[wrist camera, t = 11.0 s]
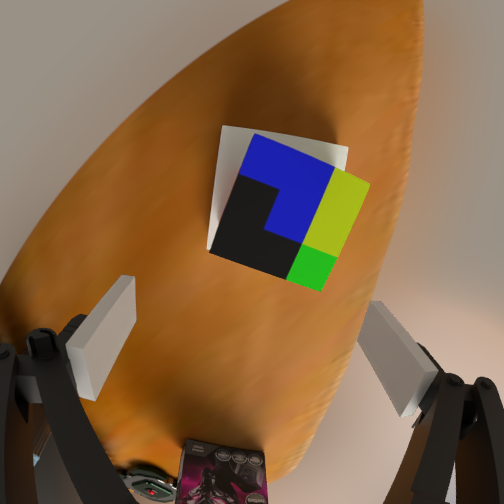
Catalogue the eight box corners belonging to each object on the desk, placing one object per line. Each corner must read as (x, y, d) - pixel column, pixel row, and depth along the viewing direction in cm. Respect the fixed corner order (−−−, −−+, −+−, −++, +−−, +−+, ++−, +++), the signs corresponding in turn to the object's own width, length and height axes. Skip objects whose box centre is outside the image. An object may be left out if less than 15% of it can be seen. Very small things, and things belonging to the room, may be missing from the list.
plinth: (210, 239, 38) (206, 249, 35) (224, 128, 34) (222, 125, 30) (317, 253, 39) (325, 264, 36) (338, 147, 35) (348, 147, 31)
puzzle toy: (251, 138, 31) (254, 132, 21) (335, 173, 32) (370, 184, 23) (218, 223, 34) (209, 252, 24) (300, 253, 35) (320, 291, 26)
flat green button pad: (159, 497, 64) (157, 509, 59) (109, 470, 59) (105, 483, 55) (200, 487, 60) (199, 501, 56) (146, 458, 56) (142, 473, 51)
